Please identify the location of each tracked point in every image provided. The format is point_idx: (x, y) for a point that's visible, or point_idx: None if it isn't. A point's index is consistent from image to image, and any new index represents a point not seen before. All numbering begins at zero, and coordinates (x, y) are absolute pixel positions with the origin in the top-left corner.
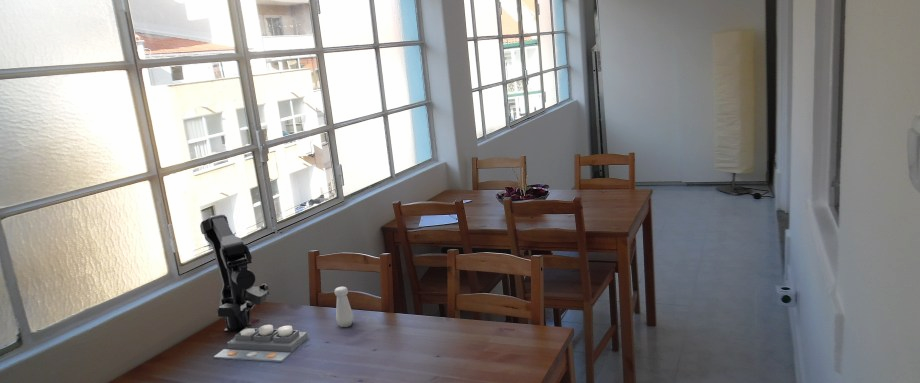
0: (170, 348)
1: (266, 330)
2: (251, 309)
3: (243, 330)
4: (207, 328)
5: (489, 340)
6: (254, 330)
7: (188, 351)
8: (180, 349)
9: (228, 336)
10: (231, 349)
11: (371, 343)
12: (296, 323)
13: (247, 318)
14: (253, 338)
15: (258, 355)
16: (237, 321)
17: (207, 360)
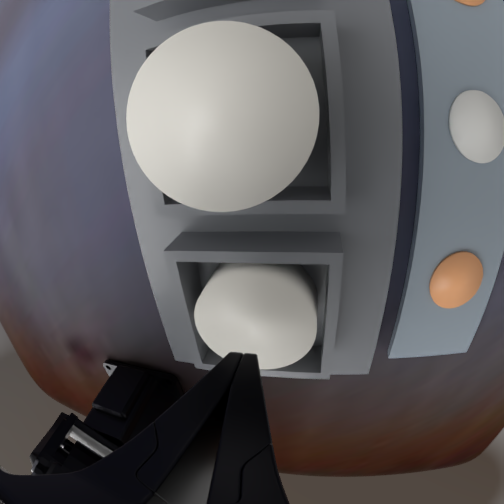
0: (342, 474)
1: (290, 47)
2: (95, 473)
3: None
4: None
5: None
6: (223, 279)
7: (372, 444)
8: (352, 461)
9: None
10: (400, 319)
11: None
12: (15, 151)
13: (232, 429)
14: (300, 233)
15: (480, 67)
16: (147, 416)
17: (477, 356)
